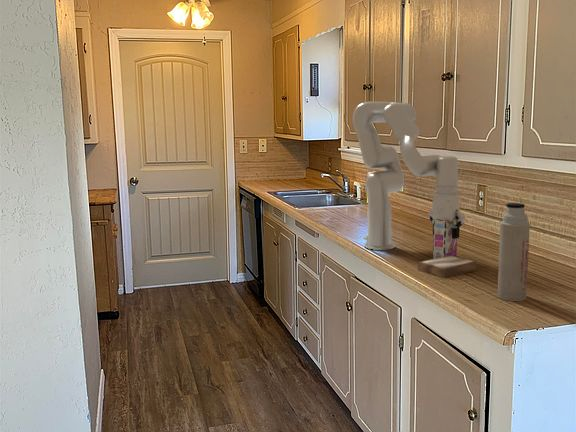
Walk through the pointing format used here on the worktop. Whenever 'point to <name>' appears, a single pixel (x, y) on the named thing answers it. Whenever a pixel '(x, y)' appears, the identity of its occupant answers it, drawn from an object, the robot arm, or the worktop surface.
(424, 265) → the base
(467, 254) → the worktop surface
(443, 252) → the candy bar box
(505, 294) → the thermos bottle
